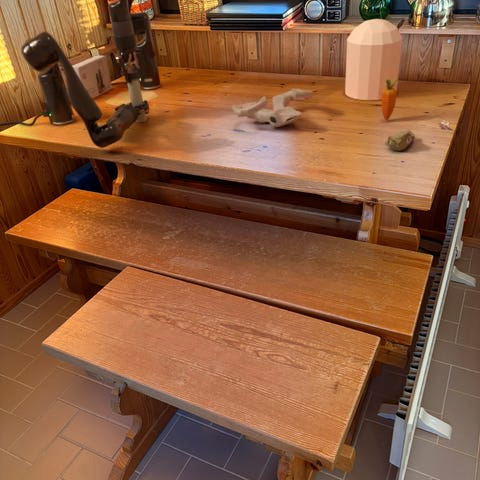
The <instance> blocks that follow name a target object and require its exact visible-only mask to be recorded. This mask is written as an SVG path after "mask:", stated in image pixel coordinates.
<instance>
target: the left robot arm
mask: <svg viewBox="0 0 480 480" xmlns="http://www.w3.org/2000/svg"><path fill="white" fill-rule="evenodd" d="M20 52H21V55H22V57H23V59H24V60H25V62H26V64H27V65H28V66H29V67H30V68H31V69H32V70H34V71H35V72H38V74H37V79H38V82H39V85H40V88H41V91H42V94H43V98H44V100H43V104H44V105H43V106H44V107H45V109H43V110H42V111H41V113H39V114H37V115H35V116H34V118H33V120H32V122H30V123H26V122H23V121H18V120H17V121H8V122H2V123H0V127H4V126H8V125H23V126H27V127H31V126H33V125H35V124H36V121H37V120H38V119H39V118H40V117H43V118H48V119H49V123H50V125H54V126H65V125H68V124H71V123H74V122H75V121H76V114H77V115H78V117H79V118H80V119H81V120H82V122H83V124H84V126H85V128H86V131H87V133H88V136H89V138H90V140H91V142H92V143H93V144H94V146H96V147H98V148H100V149H105V148H107V147H109V146H112V145H113V144H117V143H118V142H119V141H121V140H122V139H123V137H124V134H125V133H126V131H127V130H129V129H130V128H131V127H132V126H133V125H134V124H135V123H137V122H136V120H137V118H138V115H140V114H141V113H145V114H146V115H149V113H150V106H149V105H150V104H149V103H148V100H146V99H145V100H143V102H142V103H141V104H137V105H133V106H132V103H131V101H129V102H127V103H122V104H120V105H118V106H117V107H115V108H114V113H112V115H110V117H108V119H107V120H106V122H105V123H104V124H102V125H100V126H99V124H98V121H99V120H100V119H102V117H103V112H102V110H101V108H100V107H99V106H98V104H97V103H96V101H95V100H94V98H93V99H92V97H91V96H90V95H89V93H88V92H87V90H86V89H85V87H84V85H83V84H82V82H81V80H80V78H79V77H78V75H77V73H76V71H75V70H74V68H73V65H72V62H71V61H70V60H69V58H68V56H67V55H66V53H65V52H64V50H63V48H62V47H61V45H60V44H59V43H58V42H57V40H56V39H55V38H54V37H53V35H52V34H51V33H50V32H48V31H45V30H44V31H41V32H40V33H38V34H37V35H35V36H34V37H31V38H27V39H25V40H24V44H22V45H21V48H20ZM61 69H62V70H61ZM62 71H63V73H64V76H65V78H64V77H63V73H62ZM74 111H75V112H74Z"/></svg>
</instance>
